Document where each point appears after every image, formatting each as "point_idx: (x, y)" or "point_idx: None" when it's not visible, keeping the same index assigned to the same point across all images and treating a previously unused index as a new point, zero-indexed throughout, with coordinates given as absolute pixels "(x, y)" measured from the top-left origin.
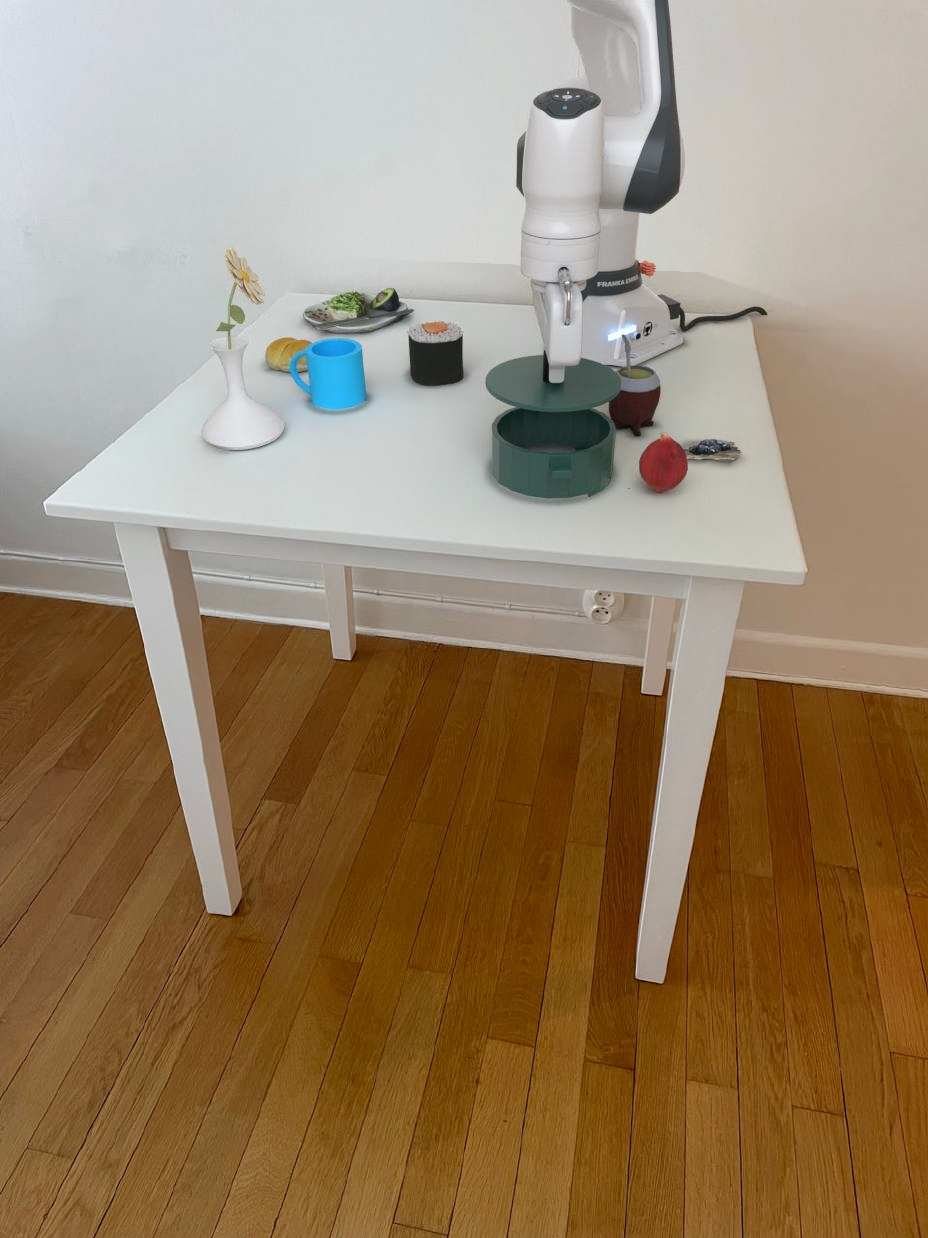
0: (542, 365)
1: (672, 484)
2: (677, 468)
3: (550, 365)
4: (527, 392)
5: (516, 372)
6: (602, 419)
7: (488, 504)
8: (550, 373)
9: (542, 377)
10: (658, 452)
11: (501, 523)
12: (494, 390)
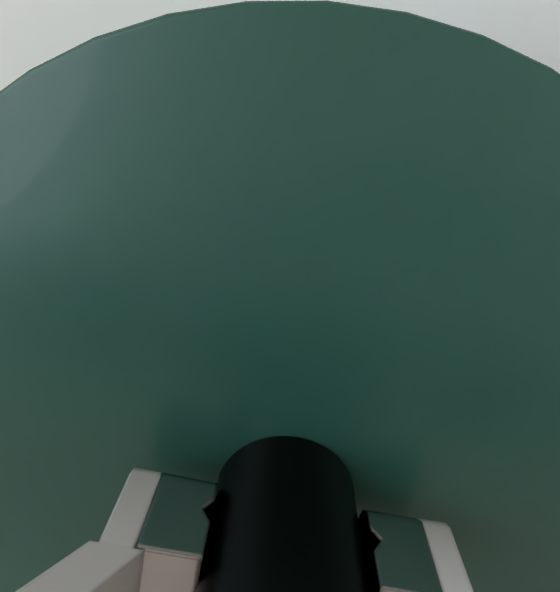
0: (529, 496)
1: None
2: None
3: (45, 573)
4: (99, 289)
5: (484, 312)
6: None
7: (130, 25)
8: (114, 514)
9: (304, 445)
10: None
11: (2, 39)
12: (175, 41)
